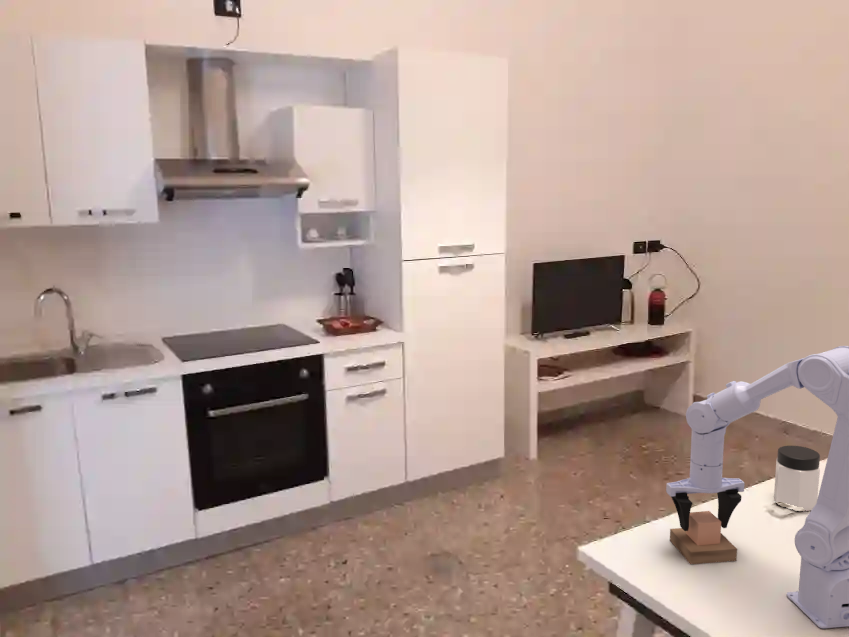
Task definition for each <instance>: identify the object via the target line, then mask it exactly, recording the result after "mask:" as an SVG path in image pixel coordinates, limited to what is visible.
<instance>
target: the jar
mask: <svg viewBox="0 0 849 637" xmlns="http://www.w3.org/2000/svg"><path fill="white" fill-rule="evenodd" d="M820 460H821V455H820V453H819V452H817V451H816V450H814V449H812V448H808V447H806V446H799V445H783V446H780V447H779V448H777V457H776V460H775V461H776V462H775V464H776V465H775V477H774V491H773V497H774V498H773V499H774V501H776V502H783V503H787V504H790V505H794V506H797V507H803V508H804V510H806V511H805V512H811V510H812V509H813V508H814V506H815V505H816V503H817V499H818V495H819V487H820V486H819V485H820V473H821V470H820ZM776 502H775V503H776Z"/></svg>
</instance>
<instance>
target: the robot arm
mask: <svg viewBox="0 0 849 637" xmlns="http://www.w3.org/2000/svg"><path fill="white" fill-rule="evenodd" d="M792 386H793V387H794V388H797V389H798V390H799V389H804V388H805V389H806V390H807V391H808V392H810V393H811V394H812V395H814V397H816V398H818V400H820V401H821V402H823V403H824V404H825V405H826V406H827V407H829V408H830V409H831V410H832V411H833V412H834V413H835V414H836V417H837V419H836V421H835V422H836V423H835V427H834V431H833V435H832V439H831V443H830V447H829V450H828V455H827V458H826V463H825V468H824V472H823V476H822V479H821V484H820V486H819V490H818V498H817V503H816V505H815V506H814V508H813V509H812V510H811V511H809V513H808V514H807V516H806V518H805V519H804V520H805V521H804V524H803V526H802V527H801V528H800V529H799V530H797V532H796V533H795V536H794V545H795V549H796V551H797V553H798V554H799V555H800V567H799V569H800V570H799V580H798V581H799V582H798V590H797V591H788V592H786V596H787V598H789V599H790V601H791V602H793V603H794V604H795V605H796V606H797V607H798V609H800V610H801V611H802V612H803V614H805V615H806V616H807V617H808V618H809V619H810V621H812V622H813V623H814V624H815V626H817V627H818V628H820V629H832V628H833V629H834V628H843V627H849V345H839V346H836V347H834V348H831V349H829V350H826V351H824V352H819V353H814V354H810V355H807V356H805V357H803V358H800V359H796V360H793V361H789V362H787V363H785V364H783V365H781V366H780V367H777V368H776V369H774V370H773V371H770V372H769V373H767V374H765V375H764V376H762V377H760V378H759V379H757V380H755V381H752V383H749V382H746V381H741V380H740V381H736V380H732V381H730V382H727V383H726V384H725V387H726V388H724V389H722V390H720V391H718V392H711V393H709V394H707V395H706V399H704V400H701V401H694V402H693V403H691V405H689V406H688V407H687V408H686V412H685V419H686V423H687V425H688V427H689V428H690V429H691V434H690V435H691V438H690V439H691V440H690V460H689V461H690V464H689V467H690V468H689V477H687V478H683V479H681V480H678V481H673V482H666V488H665V489H666V490H665V491H666V494H667V495H668V496H669V497H670V498H671V500H672V502H673V503H674V504H673V505H674V506H675V509H676V512H677V516H678V521H679V528H682V529H683V530H684V531H688V529H689V515H690V512H691V509H692V506H693V501H691V500H690V497H689V496H688V495H691V494H692V495H693V494H717V504H718V505H717V518H718V519H719V520H720V521H721V529H727V527H728V524H729V522H730V519H731V517H732V515H733V512H734V511H735V510H736V507H737V506H738V505H739V504H740V503H741V502H742V495H741V494H740V493H743V492H745V482H744V481H743V480H742V479H740V478H739V477H738V478H737V477H736V478H731V477H730V478H729V477H723V467H724V465H723V464H724V450H725V449H724V447H725V435H726V431H727V427H729V425H730V424H731V423H733V422H735V421H737V420H739V419H741V418H743V417H746V416H748V415H750V414H753V413H754V412H756V411H758V409H760V406H761V401H762V400H763V399H765V398H767V397H770V396H772V395H774V394H776V393H779V392H780V391H784V390H786V389H788V388H790V387H792Z"/></svg>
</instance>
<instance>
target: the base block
mask: <svg viewBox="0 0 849 637" xmlns="http://www.w3.org/2000/svg"><path fill="white" fill-rule="evenodd" d="M669 541H670V542H671V543H672V545H673V546H674V547H675V548H676V549H677V551H678V550H679V551H678V552H679V553H680V554H681V555H682V556H683V558H684V560H686V562H688V564H690V565H699V564H702V565H703V564H713V563H727V561H729V562H737V554H738V547H736V546H735V545H734V544H733V543H732V542H731V541H730V540H729V539H728V538H727V537H726V536H725V534H723V533H722V532H721V536H720V544H709V545H697V544H696V543H695V542H694V541H693V540H692V539H691V538H690V537H689V536H688V535H687V534H686V531H684V530H683V529H682V528H681V527H677V528H669Z"/></svg>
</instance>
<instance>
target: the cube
mask: <svg viewBox="0 0 849 637" xmlns="http://www.w3.org/2000/svg"><path fill="white" fill-rule="evenodd" d="M721 533H722V527H721V521H720V520H719V519H718V516H715V514H713V513H712V512H711V511H710V510H703V511H690V515H689V529H688V531H686V534H687V535H688V536H689V537H690V538H691V539H692V540H693V541H694V542H695V543H696V544H697V545H709V544H720V536H721Z"/></svg>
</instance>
